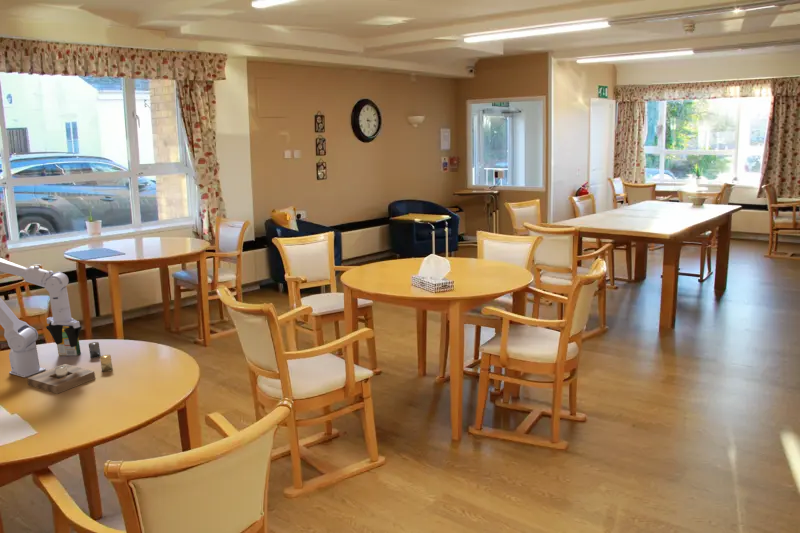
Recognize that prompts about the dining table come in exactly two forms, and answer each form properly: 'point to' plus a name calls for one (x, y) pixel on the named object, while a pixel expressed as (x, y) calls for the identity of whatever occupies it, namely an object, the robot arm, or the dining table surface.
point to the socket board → (61, 379)
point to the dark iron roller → (94, 350)
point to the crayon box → (67, 346)
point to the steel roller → (61, 371)
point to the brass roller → (106, 363)
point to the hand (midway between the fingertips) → (66, 344)
